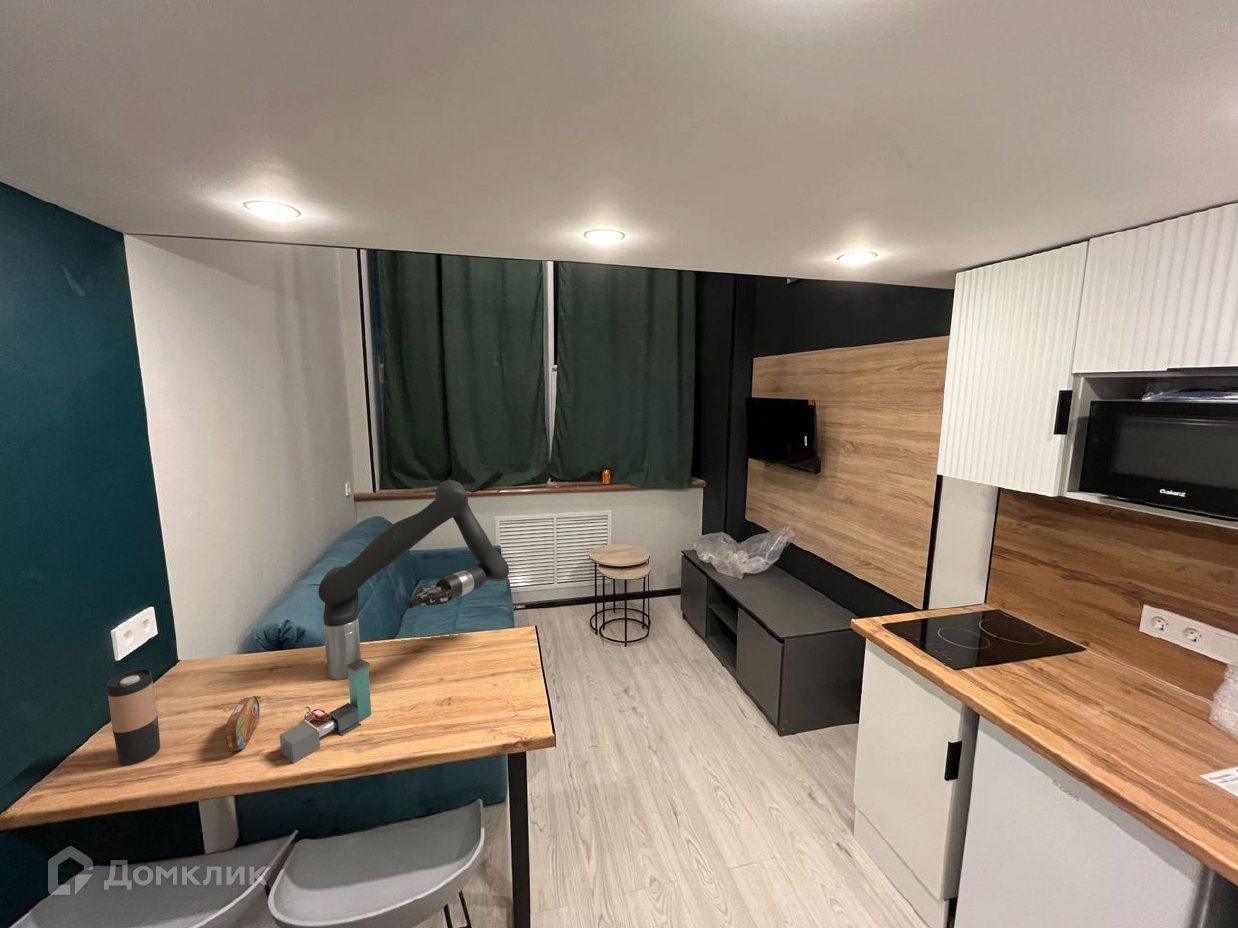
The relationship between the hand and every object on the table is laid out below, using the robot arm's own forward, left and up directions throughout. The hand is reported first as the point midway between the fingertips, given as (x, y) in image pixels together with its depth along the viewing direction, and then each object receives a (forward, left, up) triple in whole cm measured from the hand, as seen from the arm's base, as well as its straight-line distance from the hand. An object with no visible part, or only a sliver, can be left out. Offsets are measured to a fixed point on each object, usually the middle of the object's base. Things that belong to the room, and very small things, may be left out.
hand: (407, 604), depth 142 cm
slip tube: (0, -22, -26) cm, 34 cm away
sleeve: (0, -20, -26) cm, 33 cm away
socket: (0, -31, -26) cm, 40 cm away
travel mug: (-31, -52, -26) cm, 66 cm away
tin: (-17, -36, -26) cm, 48 cm away
